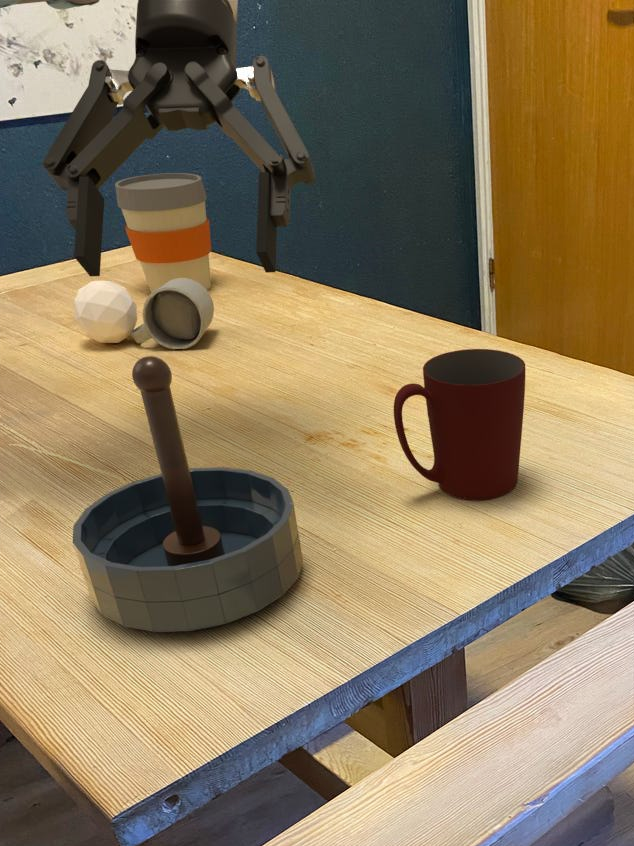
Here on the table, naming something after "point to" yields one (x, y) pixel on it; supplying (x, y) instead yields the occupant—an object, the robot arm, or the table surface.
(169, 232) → the reusable coffee cup
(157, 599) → the bowl
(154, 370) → the muddler
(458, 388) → the mug
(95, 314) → the geometric ball
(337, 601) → the table surface
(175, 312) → the ceramic mug
